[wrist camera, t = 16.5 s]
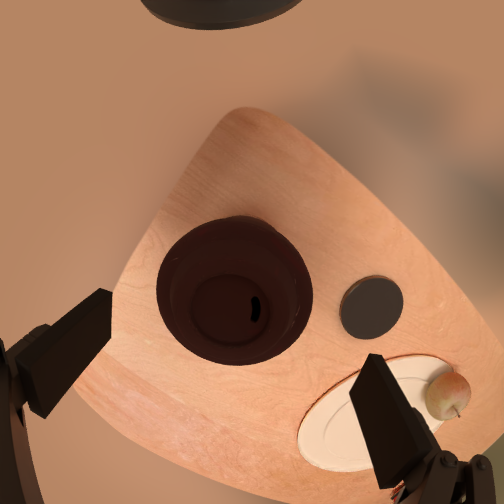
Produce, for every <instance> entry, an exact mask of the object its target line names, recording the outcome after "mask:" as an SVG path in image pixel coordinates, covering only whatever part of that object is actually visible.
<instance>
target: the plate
mask: <svg viewBox="0 0 504 504" xmlns="http://www.w3.org/2000/svg"><path fill="white" fill-rule="evenodd" d="M386 363H387V365H388V367H389V368H390V370H391V372H392V373H393V375H394V377H395V379H396V380H397V382H398V384H399V386H400V387H401V389H402V391H403V393H404V394H405V396H406V398H407V400H408V402H409V403H410V405H411V407H415V408H416V409H417V410H418V411H419V412H420V413H421V414H422V415H423V417H424V419H425V421H426V424H428V426H429V430H431V431H432V433H433V434H434V432H435V431H436V430H437V429H438V428H439V427H440V426H441V425H442V423H443V422H444V421H439V420H436V419H434V418H433V417H432V416H431V415H430V414H429V413H428V411H427V408H426V401H425V400H426V394H427V390H428V388H429V386H430V385H431V383H432V382H433V381H434V380H435V379H436V378H437V377H438V376H439V375H441V374H443V373H446V372H454V370H453V369H452V367H451V366H450V365H449V364H447V363H446V362H444V361H442V360H440V359H438V358H435V357H432V356H426V355H411V356H403V357H398V358H394V359H390V360H387V361H386ZM359 373H360V372H358V373H356V374H354V375H352V376H350V377H349V378H347V379H345V380H344V381H342V382H341V383H339V384H338V385H336V386H335V387H334V388H332V389H331V390H330V391H328V392H327V393H326V394H325V395H324V396H322V397H321V398H320V399H319V400H318V401H317V402H316V403H315V404H314V406H313V407H312V408H311V409H310V410H309V412H308V413H307V415H306V416H305V418H304V420H303V422H302V424H301V426H300V429H299V433H298V439H297V443H298V448H299V451H300V453H301V455H302V456H303V457H304V459H305V460H306V461H308V462H309V463H310V464H312V465H314V466H316V467H318V468H321V469H324V470H328V471H335V472H354V471H362V470H367V469H371V468H373V465H372V462H371V459H370V456H369V452H368V449H367V446H366V443H365V440H364V437H363V434H362V431H361V428H360V425H359V422H358V419H357V416H356V413H355V410H354V407H353V404H352V401H351V398H350V396H349V391H350V389H351V388H352V386H353V384H354V382H355V380H356V378H357V377H358V375H359ZM454 373H455V372H454Z"/></svg>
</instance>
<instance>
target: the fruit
mask: <svg viewBox="0 0 504 504" xmlns="http://www.w3.org/2000/svg"><path fill="white" fill-rule="evenodd" d="M470 398H471V388H470V385H469V383H468V382H467V380H466V379H465V378H464V377H463V376H461V375H459V374H457V373H454V372H446V373H443V374H441V375H439V376H438V377H437V378H436V379H435V380H434V381H433V382H432V383H431V385H430V386H429V388H428V390H427V394H426V400H425V401H426V408H427V411H428V413H429V414H430V415H431V416H432V417H433V418H434V419H436V420H439V421H446V420H450V419H453V418H454V417H456V416H457V415H458V417H459V418H460V415H459V413H460V412H461V411H462V410H463V409H464V408H465V407H466V406H467V405H468V403H469V401H470Z"/></svg>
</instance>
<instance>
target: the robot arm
mask: <svg viewBox="0 0 504 504" xmlns="http://www.w3.org/2000/svg"><path fill="white" fill-rule="evenodd" d="M112 294H113V292H110V291H107V290H105V289H101V288H99V289H98V290H96V291H95V292H94V293H92V294H91V295H90V296H88V297H87V298H86V299H85V300H83V301H82V302H81V303H80V304H78V305H77V306H76V307H74V308H73V309H72V310H70V311H69V312H68V313H67V314H66V315H64V316H63V317H62V318H61V319H59V320H58V321H57V322H56V323H54V324H53V325H52V326H50V325H47V324H44V325H41V326H38V327H36V328H34V329H33V330H32V331H31V332H29V334H27V335H25V336H24V337H23V339H20V340H19V341H18V342H17V343H16V344H14V345H13V346H12V347H11V348H9V350H7V351H6V352H5V348H4V344H3V341H2V340H1V338H0V504H44V501H43V498H42V495H41V492H40V488H39V485H38V481H37V477H36V473H35V470H34V465H33V461H32V457H31V451H30V446H29V442H28V435H27V429H26V423H25V415H24V410H23V405H24V404H25V403H26V401H27V402H28V405H29V408H30V410H31V411H32V412H34V413H35V414H37V415H39V416H40V417H42V418H44V419H46V417H47V416H48V415H49V414H50V412H51V411H52V410H53V408H54V407H55V406H56V405H57V403H58V402H59V401H60V399H61V398H62V397H63V396H64V394H65V393H66V392H67V391H68V389H69V388H70V387H71V386H72V384H73V383H74V382H75V381H76V379H77V378H78V377H79V376H80V375H81V373H82V372H83V371H84V370H85V368H86V367H87V366H88V365H89V364H90V362H91V361H92V360H93V359H94V358H95V356H96V355H97V354H98V353H99V352H100V350H101V349H102V348H103V347H104V346H105V345H106V343H107V342H108V341H109V340H110V339H111V318H112ZM349 396H350V398H351V401H352V404H353V407H354V410H355V413H356V416H357V419H358V422H359V425H360V428H361V431H362V434H363V437H364V440H365V443H366V446H367V449H368V452H369V456H370V459H371V462H372V465H373V468H374V472H375V475H376V478H377V482H378V485H379V488H380V489H387V488H394V487H396V486H397V485H398V484H399V483H400V482H401V481H402V480H403V481H404V484H405V486H404V487H402V488H401V489H400V490H399V491H398V492H397V493H396V494H394V495H393V496H392V497H391V499H392V500H393V499H394V498H395V497H396V496H397V498H396V500H395V502H394V503H393V504H496V495H495V486H494V478H493V471H492V465H491V463H490V461H489V459H488V458H487V457H485V456H483V455H480V454H477V455H475V456H473V457H472V459H471V460H470V461H469V462H463V461H458V459H457V457H456V456H455V455H454V454H453V453H451V452H450V451H446V450H441V448H440V446H439V444H438V442H437V441H436V439H435V437H434V435H433V433H432V431H431V430H429V426H428V424H426V421H425V419H424V417H423V415H422V414H421V413H420V412H419V411H418V410H417V409H416V408H415V407H411V405H410V403H409V402H408V400H407V398H406V396H405V394H404V393H403V391H402V389H401V387H400V386H399V384H398V382H397V380H396V379H395V377H394V375H393V373H392V372H391V370H390V368H389V367H388V365H387V363H386V361H385V360H384V358H383V356H382V355H378V354H371V353H369V355H368V357H367V359H366V361H365V363H364V365H363V367H362V369H361V371H360V373H359V375H358V377H357V378H356V380H355V382H354V384H353V386H352V388H351V389H350V391H349ZM465 495H466V500H465V501H464V502H463V503H462V498H463V497H464V496H465Z"/></svg>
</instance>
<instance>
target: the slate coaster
mask: <svg viewBox="0 0 504 504" xmlns="http://www.w3.org/2000/svg"><path fill="white" fill-rule="evenodd" d="M402 309H403V296H402V292H401V290H400V288H399V287H398V286H397V285H396V284H395V283H394V282H393V281H392V280H391V279H389V278H386V277H383V276H370V277H366V278H364V279H362V280H360V281H358V282H356V283H355V284H354V285H353V286H352V287H351V288H350V289H349V290H348V291H347V292H346V294H345V296H344V297H343V300H342V302H341V305H340V320H341V323H342V325H343V327H344V329H345V330H346V331H347V332H348V333H349V334H350V335H351V336H353V337H355V338H358V339H374V338H377V337H379V336H382V335H383V334H385V333H387V332H388V331H389V330H390V329H391V328H392V327H393V326H394V325H395V324H396V322H397V321H398V319H399V317H400V315H401V313H402Z"/></svg>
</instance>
